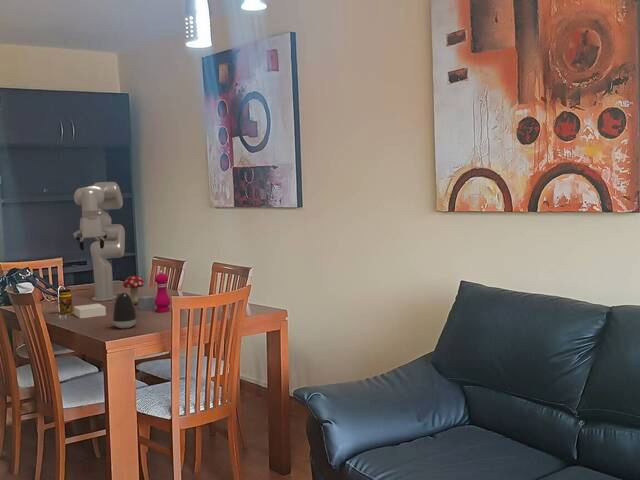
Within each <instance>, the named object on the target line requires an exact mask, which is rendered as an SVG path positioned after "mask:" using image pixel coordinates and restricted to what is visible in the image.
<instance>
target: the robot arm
mask: <svg viewBox="0 0 640 480" xmlns="http://www.w3.org/2000/svg"><path fill="white" fill-rule="evenodd" d="M120 188H121V187H120V186H119V184H117V182H115V181H104V182H103V181H102V182H101V181H100V182H99V181H98V182H95V183H93V184H92V185H89V186H84V187H79V188H77V189H76V190H75V192H74V194H73V200H74V203H75V205H78V206H81V216H82V217H80V220H79V221H80V222H79V229H78V230H76V231H74V232H73V233H72V234H73V236H74V239H75V240H76V241H78V245H79V249H80V250H81V251H84V250H85V246H84V239H87V238H89V239H90V238H91V239H92V238H94V239H95V240H96V241H94V242H92V243H91V245H90V248H89V249H90V254H91V255H90V256H91V259H92V267H93V268H92V269H93V282H94V283H93V285H94V286H93V287H94V296H93V297H92V298H91V300H92V301H95V302H105V301H106V302H107V301H112V300H116V298H117V296H116V295H114V284H113V283H114V282H113V267H112V265H111V263H110V262H109V261H108V259H121V258H122V257H123V256H124V255H125V246H126V245H125V243H126V241H125V240H126V231H125V227H124V226H123V225H122V224H118V223H116V224H115V223H114V224H113V223H112V217H111V216H110V214H108V213H107V212H106V211H104V210H119V209H122V207H123V204H124V203H123V202H124V201H123V200H124V199H123V196H122V191H121V189H120ZM78 234H79V236H78Z"/></svg>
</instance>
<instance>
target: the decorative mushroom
mask: <svg viewBox="0 0 640 480" xmlns="http://www.w3.org/2000/svg"><path fill="white" fill-rule="evenodd" d="M144 286H145V280H144V279H143V278H142V277H140V276H138V275H130V276H127V277H126V278H125V280H124V281H123V283H122V287H124V288H126V289H130V297H131V299H132V301H133V304H134V306H135V305H138V297H139V290H138V289H139V288H141V287H142V288H143V287H144Z"/></svg>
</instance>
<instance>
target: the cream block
mask: <svg viewBox="0 0 640 480" xmlns="http://www.w3.org/2000/svg"><path fill="white" fill-rule="evenodd" d="M106 309H107V308H106V306H104V305H103V304H100V303H92V304H83V305H75V306H73V312H74V313H73V315H74V316H76V317H77V318H79V319H87V318H94V317H102V316H103V317H104V316H107V312H106V311H107V310H106Z"/></svg>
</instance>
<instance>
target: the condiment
mask: <svg viewBox="0 0 640 480" xmlns="http://www.w3.org/2000/svg"><path fill="white" fill-rule="evenodd" d="M58 292H59V293H58V308H59V310H58V311H59V312H57V313H54V314H52V315H55V316H69V315H74V308H73V296H72V292H71V289H70V288H62V289H59V290H58Z"/></svg>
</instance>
